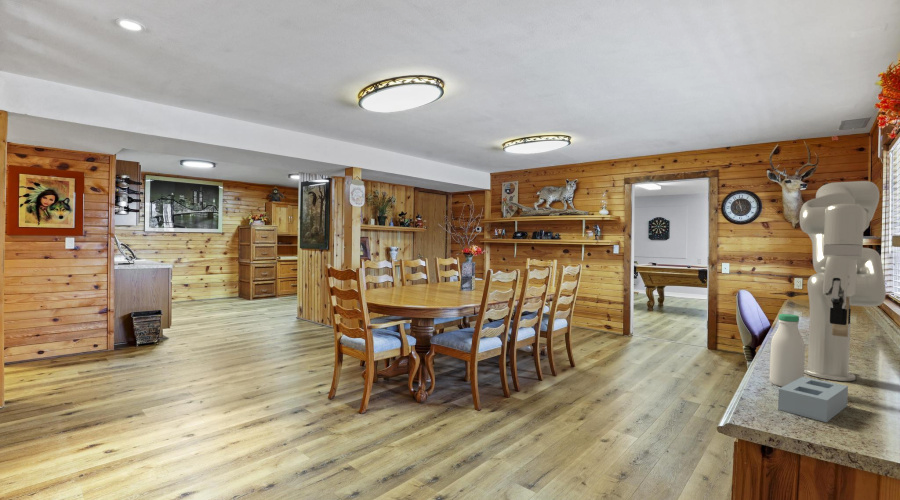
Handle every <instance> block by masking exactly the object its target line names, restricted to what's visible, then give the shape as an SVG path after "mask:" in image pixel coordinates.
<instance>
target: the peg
mask: <svg viewBox="0 0 900 500" xmlns="http://www.w3.org/2000/svg"><path fill="white" fill-rule="evenodd" d="M846 309H847V324H846V325H839V324H832V335H834V336H841V337H848V313H849V297H846Z"/></svg>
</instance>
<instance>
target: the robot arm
mask: <svg viewBox="0 0 900 500" xmlns="http://www.w3.org/2000/svg"><path fill="white" fill-rule="evenodd" d="M879 202H880V190H879V187H878V186H877V185H876V184H875V183H874V182H872V181H869V180H860V181H859V180H858V181H855V180H854V181H839V182H836V181H835V182H830V183H826V184H823V185H822V186H820V188H818V189H817V191H816V194H815V198H812V199H810V200H807V201H805V202H804V203H803V204H802V206H801V208H800V211H799V226H800V229H801V230H802V232H803V233H805V234H807V235H808V237H809V239H810V241H811V243H812V244H811V246H812V247H811V248H812V265H813V269H814V271H815V272H816V273H814V274H812V275H811V276H810V277H808V278H807V284H806V285H807V287H806V288H807V294H808V301H809V325H808V326H809V329H808V330H809V331H808V350H807V351H808V355H807V356H808V357H807V365H804V374H805V375H808V376H813V377H816V378H820V379H826V380H831V381H839V382H840V381H841V382H852V381H855V380H856V374H854V373H852V372H849V370H850V367H849V366H850V349H851V348H850V346H851V344H850V343H851V313H852V312H851V310H852V309H851V306H854V307H855V306H856V307H869V308H870V307H871V308H874V307H875V308H876V307H878V306H881V305H882V304H883V303H884V301H886V296H887V295H886V292H887V291H886V282H885V276H884V270H883V264H882V258H881V255H880V254H879V252H878V251H877V250H875V249H873V248H869V247H863V245H864V243H863V242H864V232H865V231H866V230H867V229H868V228H869V226H870V222H871V221H872V220H873V218H874V215H875V212H876V210H877V208H878V205H879ZM846 297H849V313H848V337H841V336H834V335H832V324H839V325H846V324H847V309H846Z"/></svg>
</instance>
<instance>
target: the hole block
mask: <svg viewBox="0 0 900 500" xmlns="http://www.w3.org/2000/svg"><path fill="white" fill-rule="evenodd" d="M848 394H849V385H844V384H841V383H836V382H831V381H826V380H821V379H816V378H812V377H809V376H808V377H807V376H804V377H801V378H799V379H797V380H795V381H793V382H791V383H789V384H787V385H785V386H783V387H781V386H780V388H778V401H777V402H778V403H777V410H778V411H782V412H786V413H789V414H794V415H796V416H800V417H805V418H808V419H813V420H816V421H820V422H822V423H828V422H829V421H830V420H831V419H832V418H834V417H835V416H837V415H838V414H839V413H840V412H842V411H843V410H844V409H845V408H847V407H848V397H849V396H848Z"/></svg>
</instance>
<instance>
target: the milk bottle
mask: <svg viewBox="0 0 900 500" xmlns="http://www.w3.org/2000/svg"><path fill="white" fill-rule="evenodd" d="M778 323H779V324H778V327H777V330H776V332H774V334H773V336H772V338H771V342H770V343H771V344H770V356H769V382H770V383H771V384H773V385H775V386H778V387H780V388H781V387H783V386H785V385H787V384H789V383H791V382H793V381H795V380H797V379H799V378H801V377H805V373H804V366H805V354H806V350H805V349H806V347H805V341H804V339H803V337H802V335H801V333H800V330H799V327H798V326H799V324H800V316H799V315H796V314H790V313H779V314H778Z"/></svg>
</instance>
